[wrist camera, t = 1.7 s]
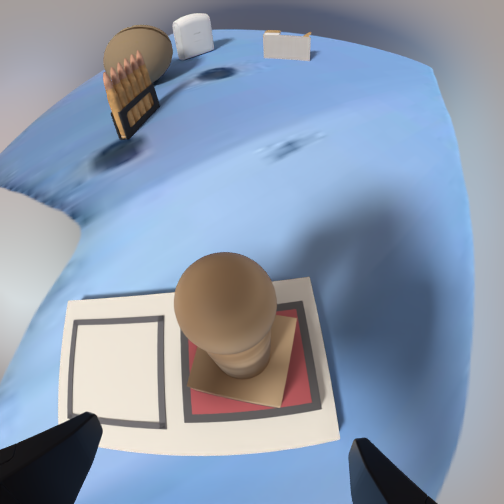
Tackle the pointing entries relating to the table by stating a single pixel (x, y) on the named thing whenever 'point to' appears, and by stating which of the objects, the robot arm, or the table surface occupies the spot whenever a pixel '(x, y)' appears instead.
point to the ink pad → (224, 410)
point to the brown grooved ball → (140, 49)
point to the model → (286, 46)
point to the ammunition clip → (130, 95)
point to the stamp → (234, 329)
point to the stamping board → (170, 381)
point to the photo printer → (193, 35)
